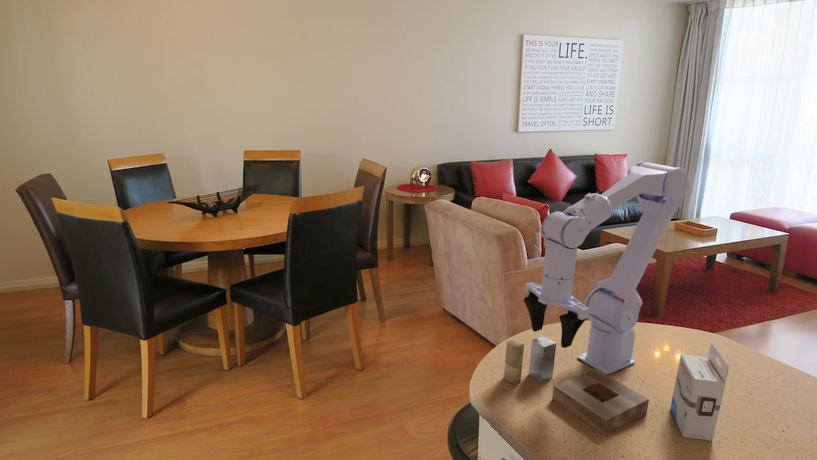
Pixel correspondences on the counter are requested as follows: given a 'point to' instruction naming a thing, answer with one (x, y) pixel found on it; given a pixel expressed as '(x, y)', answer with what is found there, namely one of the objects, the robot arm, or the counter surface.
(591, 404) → the bore block
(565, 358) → the counter surface
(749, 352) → the counter surface
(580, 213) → the robot arm
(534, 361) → the square bit
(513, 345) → the round dowel
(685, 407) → the ink box
